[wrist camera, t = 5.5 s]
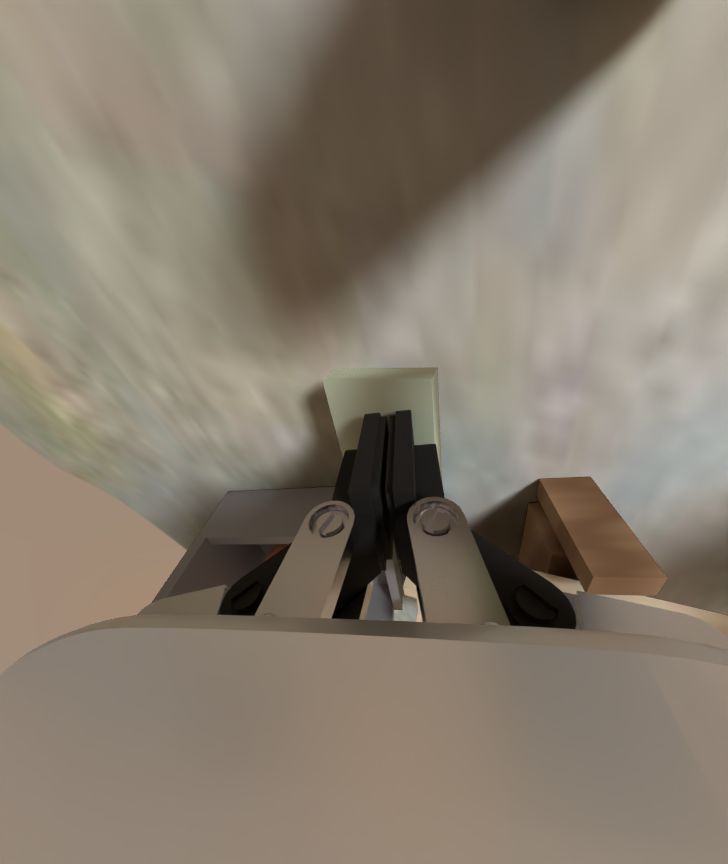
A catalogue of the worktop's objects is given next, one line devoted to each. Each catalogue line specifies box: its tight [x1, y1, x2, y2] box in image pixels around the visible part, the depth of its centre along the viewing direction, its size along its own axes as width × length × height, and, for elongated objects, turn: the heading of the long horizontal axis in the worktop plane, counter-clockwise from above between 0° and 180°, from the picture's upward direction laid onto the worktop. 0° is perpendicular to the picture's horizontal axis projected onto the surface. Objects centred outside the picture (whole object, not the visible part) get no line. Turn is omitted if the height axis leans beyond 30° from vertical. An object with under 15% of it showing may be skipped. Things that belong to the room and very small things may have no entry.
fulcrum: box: [518, 477, 668, 596], centre depth 16 cm, size 3×10×5 cm, turn 9°
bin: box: [152, 487, 403, 621], centre depth 17 cm, size 10×10×8 cm
